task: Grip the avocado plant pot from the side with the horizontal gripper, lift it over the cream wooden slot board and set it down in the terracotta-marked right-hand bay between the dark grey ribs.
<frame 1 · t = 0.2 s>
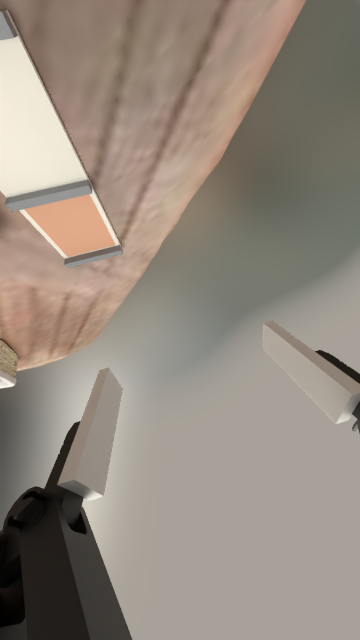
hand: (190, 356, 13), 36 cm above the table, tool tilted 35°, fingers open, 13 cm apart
slot board: (51, 189, 28), on the table
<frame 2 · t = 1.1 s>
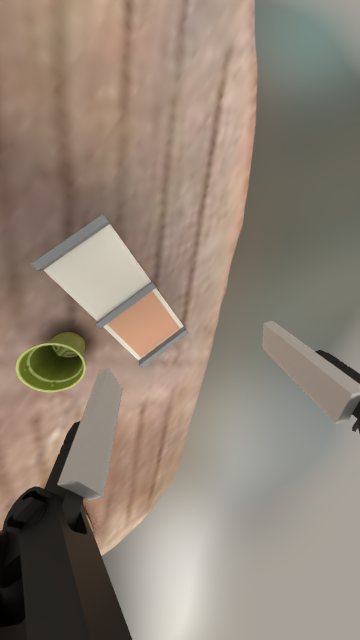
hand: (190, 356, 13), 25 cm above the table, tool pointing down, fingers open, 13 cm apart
slot board: (126, 302, 34), on the table
plant pot: (69, 343, 34), on the table
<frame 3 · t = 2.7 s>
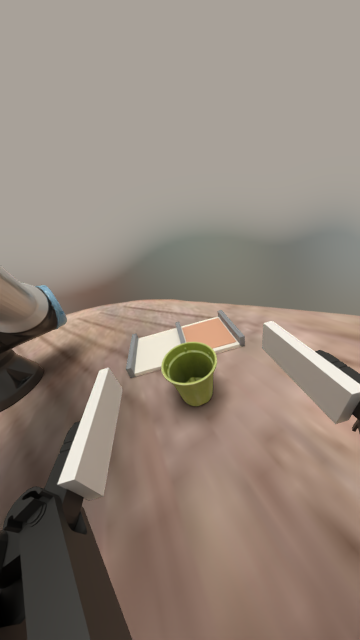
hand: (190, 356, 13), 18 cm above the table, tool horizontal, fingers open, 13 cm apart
slot board: (183, 343, 44), on the table
plant pot: (196, 391, 31), on the table
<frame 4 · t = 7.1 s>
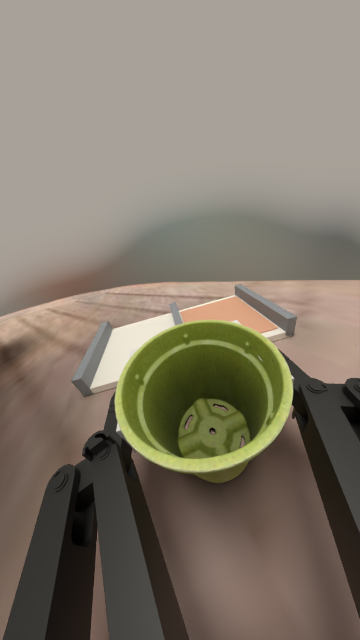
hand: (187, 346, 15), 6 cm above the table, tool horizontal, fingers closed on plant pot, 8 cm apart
slot board: (181, 335, 26), on the table
plant pot: (212, 434, 14), on the table, touching gripper
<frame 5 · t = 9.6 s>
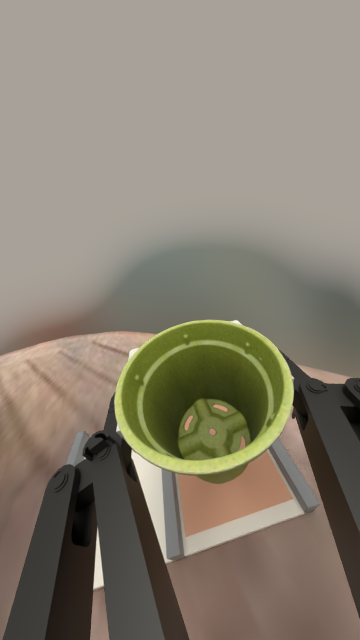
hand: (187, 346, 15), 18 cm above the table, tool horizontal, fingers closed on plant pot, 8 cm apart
slot board: (171, 467, 21), on the table
plant pot: (212, 435, 14), point 12 cm above the table, touching gripper
when the fingers open (8 cm above the table, at t = 12.1 s): plant pot moves 3 cm, point 1 cm above the table.
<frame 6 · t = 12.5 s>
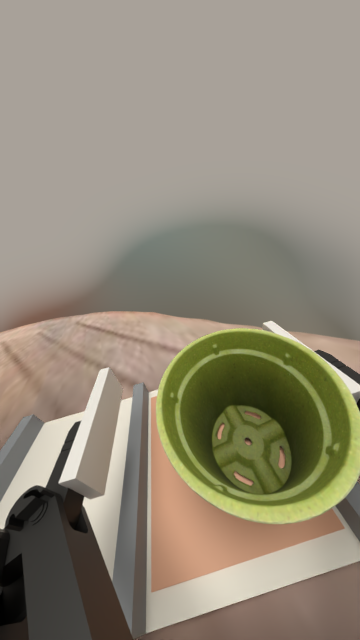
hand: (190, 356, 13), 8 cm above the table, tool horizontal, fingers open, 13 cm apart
slot board: (145, 467, 15), on the table
plant pot: (247, 444, 13), point 1 cm above the table, touching gripper
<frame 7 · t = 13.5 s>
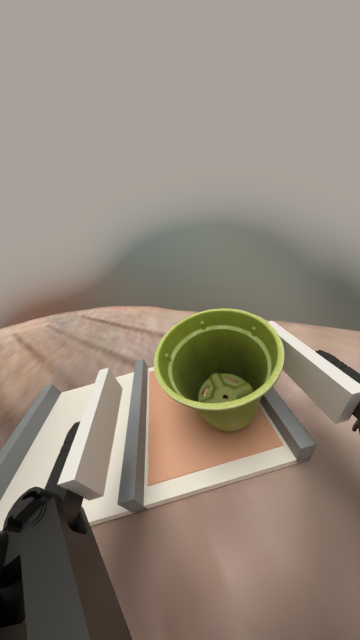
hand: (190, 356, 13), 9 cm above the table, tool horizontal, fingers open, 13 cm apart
slot board: (144, 420, 19), on the table
plant pot: (225, 400, 17), point 1 cm above the table, touching gripper, slot board
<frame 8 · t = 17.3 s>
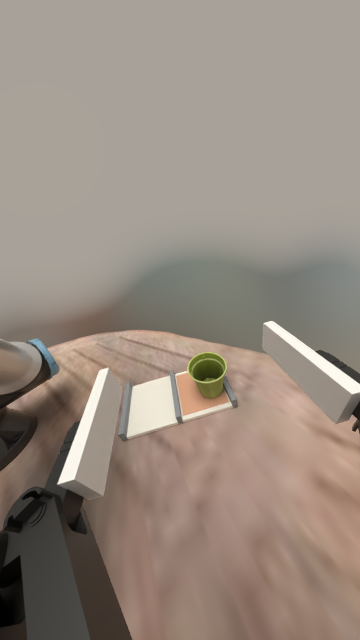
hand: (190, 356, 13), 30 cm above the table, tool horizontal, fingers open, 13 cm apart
slot board: (176, 396, 43), on the table
plant pot: (210, 388, 42), point 1 cm above the table, touching slot board
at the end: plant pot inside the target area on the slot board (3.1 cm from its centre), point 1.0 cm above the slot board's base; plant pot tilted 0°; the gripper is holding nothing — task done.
